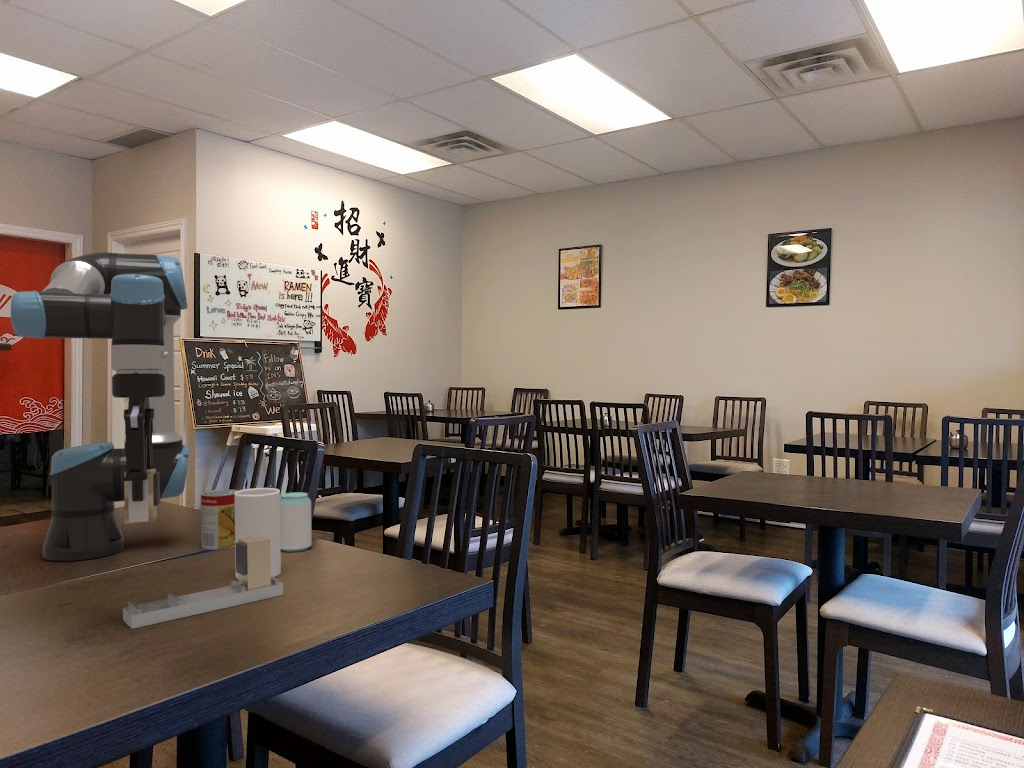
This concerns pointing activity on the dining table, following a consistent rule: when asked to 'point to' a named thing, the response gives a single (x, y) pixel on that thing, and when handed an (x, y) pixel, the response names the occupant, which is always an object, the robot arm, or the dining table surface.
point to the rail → (251, 587)
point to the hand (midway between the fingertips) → (140, 518)
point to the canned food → (218, 519)
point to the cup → (259, 520)
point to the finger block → (152, 495)
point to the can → (295, 522)
